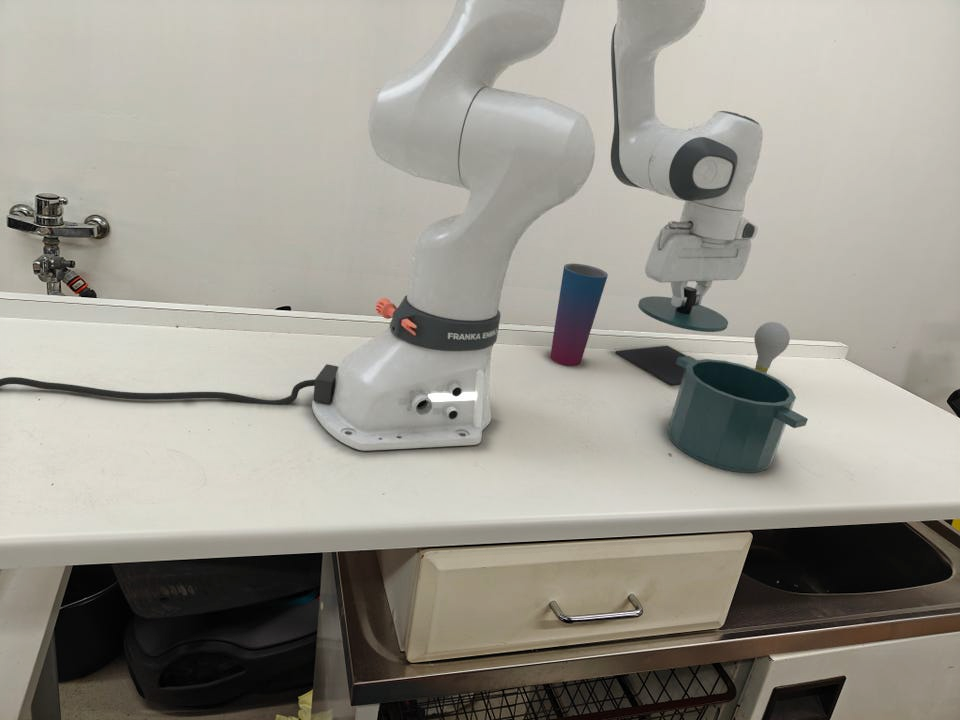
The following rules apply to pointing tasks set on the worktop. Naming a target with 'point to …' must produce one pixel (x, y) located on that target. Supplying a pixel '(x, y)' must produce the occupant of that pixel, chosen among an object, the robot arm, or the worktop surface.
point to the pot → (731, 414)
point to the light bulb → (770, 344)
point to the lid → (683, 313)
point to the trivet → (657, 362)
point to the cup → (576, 311)
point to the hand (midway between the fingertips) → (685, 305)
